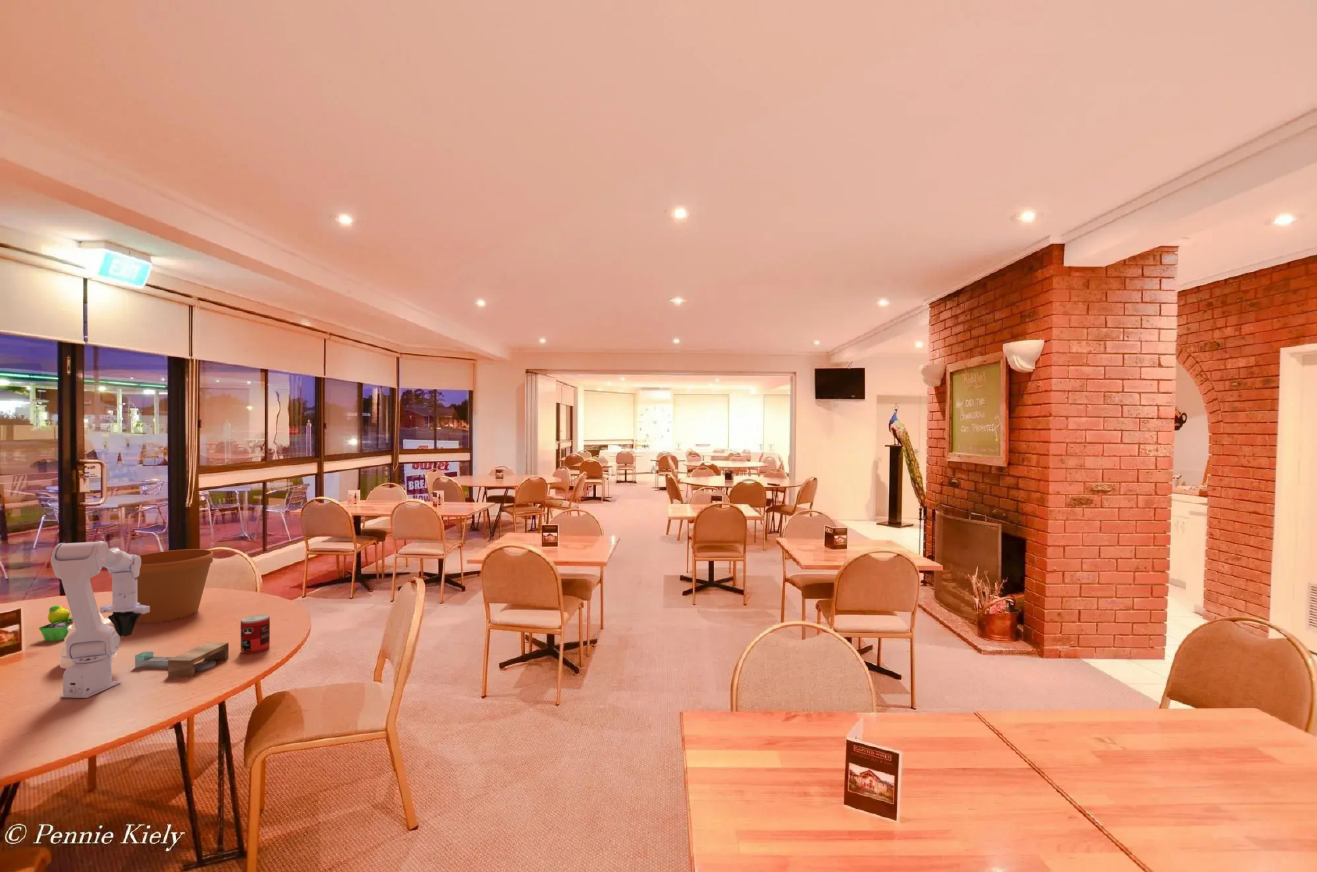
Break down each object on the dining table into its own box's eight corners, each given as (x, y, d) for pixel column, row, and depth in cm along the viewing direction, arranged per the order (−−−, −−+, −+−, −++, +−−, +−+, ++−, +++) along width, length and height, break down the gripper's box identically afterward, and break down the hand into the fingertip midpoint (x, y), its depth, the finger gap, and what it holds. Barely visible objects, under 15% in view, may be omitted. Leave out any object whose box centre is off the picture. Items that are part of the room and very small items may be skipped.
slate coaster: (204, 672, 171) (204, 668, 171) (187, 671, 171) (187, 667, 171) (220, 664, 177) (220, 660, 177) (203, 664, 177) (203, 660, 177)
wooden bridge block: (190, 676, 167) (190, 660, 167) (168, 676, 167) (168, 659, 167) (228, 657, 181) (228, 642, 181) (207, 657, 181) (207, 642, 181)
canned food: (238, 649, 188) (238, 617, 187) (267, 643, 193) (267, 612, 193) (242, 656, 182) (242, 623, 182) (271, 649, 188) (271, 617, 188)
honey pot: (122, 657, 181) (122, 602, 181) (66, 672, 170) (66, 613, 170) (109, 649, 188) (108, 596, 187) (54, 662, 177) (53, 606, 176)
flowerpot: (115, 632, 203) (114, 568, 203) (124, 613, 224) (124, 555, 224) (213, 616, 220) (212, 558, 220) (212, 599, 242) (212, 546, 242)
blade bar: (181, 669, 173) (181, 656, 173) (135, 668, 173) (135, 655, 173) (190, 665, 176) (190, 652, 176) (144, 664, 176) (144, 651, 176)
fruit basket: (59, 642, 194) (58, 610, 193) (33, 642, 193) (33, 610, 193) (92, 630, 205) (92, 600, 205) (68, 630, 205) (68, 600, 205)
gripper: (158, 589, 179) (159, 631, 179) (116, 588, 179) (116, 630, 179) (137, 595, 171) (137, 639, 172) (92, 595, 172) (93, 638, 172)
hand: (125, 635), depth 175 cm, fingers closed
